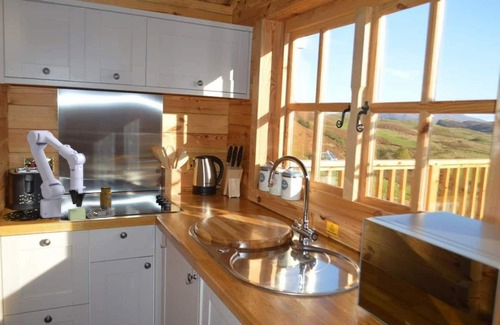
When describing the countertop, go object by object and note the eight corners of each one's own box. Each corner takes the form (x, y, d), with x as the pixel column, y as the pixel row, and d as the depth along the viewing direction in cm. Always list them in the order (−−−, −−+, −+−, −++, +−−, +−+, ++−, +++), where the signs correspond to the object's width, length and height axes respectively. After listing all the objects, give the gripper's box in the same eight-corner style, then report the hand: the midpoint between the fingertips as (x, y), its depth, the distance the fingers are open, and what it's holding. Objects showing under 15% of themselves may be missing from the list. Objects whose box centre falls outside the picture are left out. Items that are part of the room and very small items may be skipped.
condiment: (109, 206, 237) (109, 185, 236) (115, 209, 230) (115, 188, 229) (96, 208, 232) (96, 186, 231) (102, 210, 226) (102, 189, 225)
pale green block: (70, 221, 202) (70, 210, 201) (68, 219, 205) (68, 209, 205) (85, 219, 206) (85, 209, 205) (83, 217, 209) (83, 207, 209)
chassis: (89, 218, 207) (89, 211, 206) (85, 215, 214) (85, 207, 213) (114, 216, 214) (114, 208, 213) (108, 212, 221) (108, 205, 220)
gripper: (89, 179, 200) (89, 207, 201) (81, 176, 212) (81, 202, 213) (73, 180, 196) (73, 208, 197) (66, 176, 208) (67, 203, 209)
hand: (77, 205), depth 205 cm, fingers open, 7 cm apart
